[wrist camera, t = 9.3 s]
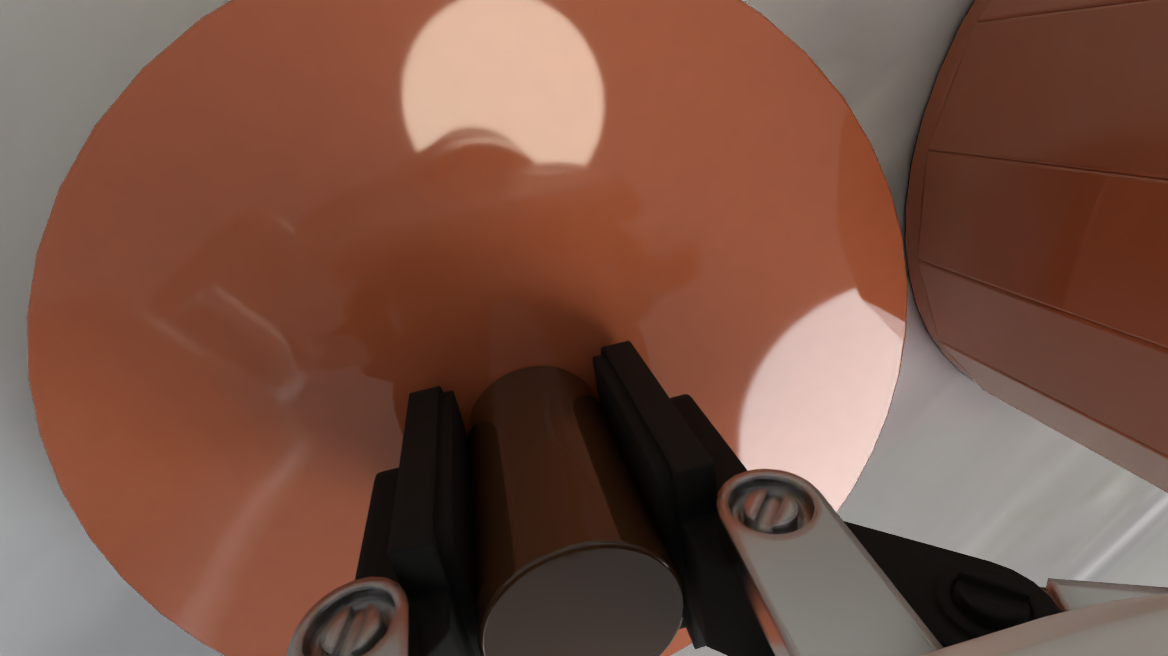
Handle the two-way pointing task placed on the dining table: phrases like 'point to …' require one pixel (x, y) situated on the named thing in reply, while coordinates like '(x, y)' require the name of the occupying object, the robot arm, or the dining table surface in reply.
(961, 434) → the dining table surface
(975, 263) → the crock
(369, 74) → the lid
